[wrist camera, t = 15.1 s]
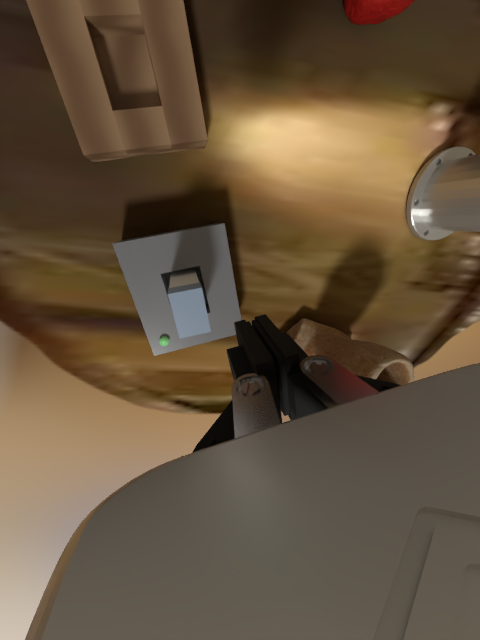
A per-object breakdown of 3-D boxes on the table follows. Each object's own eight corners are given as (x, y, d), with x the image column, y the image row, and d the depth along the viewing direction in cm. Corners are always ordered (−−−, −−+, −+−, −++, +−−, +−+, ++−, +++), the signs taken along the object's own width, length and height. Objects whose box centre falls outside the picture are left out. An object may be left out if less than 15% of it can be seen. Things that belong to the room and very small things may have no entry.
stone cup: (361, 327, 43) (444, 376, 29) (326, 379, 46) (388, 444, 32) (297, 296, 37) (365, 340, 24) (262, 358, 40) (305, 427, 27)
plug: (194, 266, 31) (202, 287, 21) (201, 299, 33) (211, 331, 23) (170, 271, 30) (167, 294, 21) (178, 303, 32) (179, 338, 23)
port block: (218, 222, 30) (225, 223, 26) (235, 320, 36) (244, 333, 32) (121, 240, 28) (111, 244, 24) (156, 339, 34) (154, 357, 30)
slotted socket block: (176, -9, 22) (176, -42, 19) (204, 147, 27) (207, 139, 24) (33, -6, 20) (10, -42, 17) (93, 162, 25) (83, 155, 22)
